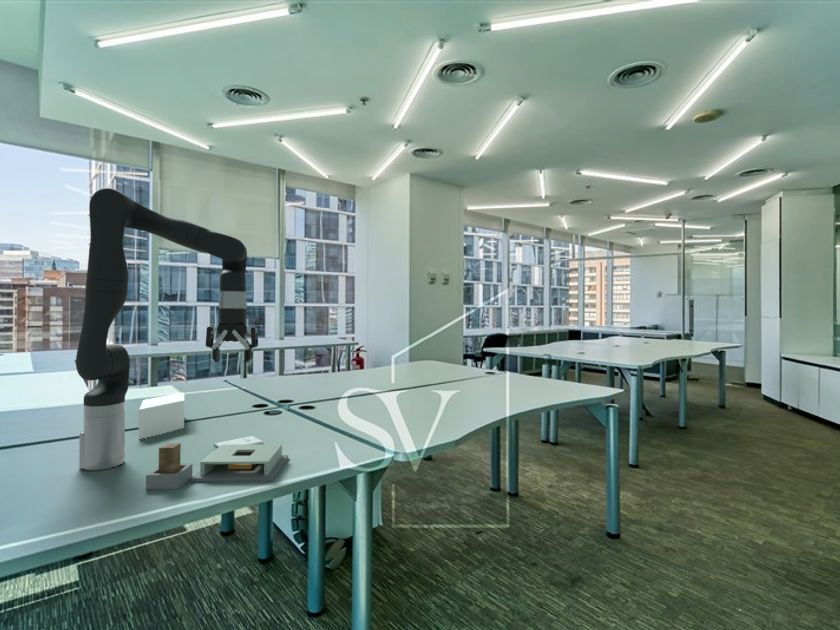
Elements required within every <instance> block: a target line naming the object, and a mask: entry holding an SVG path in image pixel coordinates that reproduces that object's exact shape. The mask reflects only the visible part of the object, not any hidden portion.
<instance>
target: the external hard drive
mask: <svg viewBox="0 0 840 630" xmlns="http://www.w3.org/2000/svg"><path fill="white" fill-rule="evenodd" d="M257 444H264V441H263V440H261V439H259V438H258V437H256V436H253V435H250V436H245V437H240V438H235V439H231V440H224V441H220V442H219V441H218V442H215V443H213V447H214V446H215V447H216V448H215V447H214V448H215V449H217V448H218V447H220V446H221V445H257Z"/></svg>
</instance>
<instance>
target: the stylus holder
mask: <svg viewBox="0 0 840 630" xmlns="http://www.w3.org/2000/svg"><path fill="white" fill-rule="evenodd" d="M192 477H193V463H180V471H178V472H177V473H159V466H157V467H156V468H155V469H153V470H151V471H150V472H149V473H147V474H146V475H145V490H146V489H149V490H150V489H152V490H179V489H180V488H182V487H183V486H184V485H185V484H186V483H188V482H189V481H190V479H191V480H192Z"/></svg>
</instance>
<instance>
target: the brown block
mask: <svg viewBox="0 0 840 630" xmlns="http://www.w3.org/2000/svg"><path fill="white" fill-rule="evenodd" d="M181 444H182V443H179V442H178V443H171V442H169V443H165V444H163V445H161V446H160V447H158V467H159V473H177V472H178V471H180V464H181V451H182V450H181Z"/></svg>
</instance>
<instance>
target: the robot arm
mask: <svg viewBox="0 0 840 630" xmlns="http://www.w3.org/2000/svg"><path fill="white" fill-rule="evenodd" d="M88 206H89V228H90V229H89V230H90V231H89V233H90V241H89V242H90V243H89V250H88V258H87V259H88V261H87V262H88V263H87V270H86V271H87V272H86V278H85V279H86V282H85V293H84V294H85V297H84V298H85V299H84V300H85V301H84V309H83V317H82V318H83V319H82V325H81V331H80V336H79V340H78V344H77V345H78V346H77V351H76V356H75V367H76V371H77V374H78V376H79V377H80V378H82V379H83V380H84V381H89V382H90V381H97V384H96V385H95V386H94V387H93V388H92V389H90V390H89V391H88V392H86V393H85V394H84V395H83V431H82V432H80V433H79V436H78V437H79V444H78V445H79V450H78V452H79V453H78V454H79V455H78V457H79V459H78V462H79V463H78V464H79V465H78V467H79V469H83V470H86V471H103V470H107V469H112V467H113V468H116V467H118V465H119V466H121V465H122V464H124V463H125V455H126V454H125V446H126V445H125V442H126V441H125V440H126V439H125V437H126V436H125V435H126V434H125V433H126V431H125V430H126V428H125V427H126V426H125V425H126V424H125V423H126V394H127V393H128V390H129V382H130V368H131V361H130V360H131V359H130V355H129V352H128V350H127V349H126V348H125V347H124V346H123V345H121V344H117V343H116V344H115V343H111V344H110V343H109V344H107V343H108V341H107V340H108V336H109V335H108V334H109V330H110V327H111V326H112V323H113V321H114V320H115V319H116V317H118V314H119V313H120V312H121V310H122V308H123V307H124V305H125V303H126V301H127V296H128V288H129V269H128V264H127V259H126V256H125V251H124V234H125V228H126V229H132V230H138V231H142V232H145V233H147V234H152V235H154V236H157V237H160V238H162V239H165V240H166V241H167V240H168V241H170V242H172V243H175V244H177V245H179V246H182V247H185V248H188V249H191V250H193V251H197V252H199V253H202V254H203V253H204V254H209V255H211V256H213V257H216V258H219V259H221V261H222V262H221V263H222V264H221V268H222V269H221V273H220V276H219V295H218V325H217V327H215V326H213V325H212V326H207V327H206V335H205V347H207V348H209V349H210V348H211V350H212V360H213V362H214V363H219V362H220V361H221V354H220V353H221V349H220V347H221V346H222V345H223V343H225V342H228V343H229V342H235V343H236V342H239V344H240V345H242V346H243V347H244V348H245V349H244V355H243V357H244V360H243V361H244V363H250V361H251V360H252V349H255V348H258V346H259V335H258V334H259V333H258V327H257V326H253V327H248V326H247V306H248V303H247V294H246V293H247V291H246V289H247V288H246V287H247V285H246V283H247V280H246V271H247V262H248V261H247V260H248V252H247V251H248V250H247V247H246V246H245V244H244V243H243V242H242V241H241V240H240V239H237V238H236V237H233V236H231V235H227V234H223V233H220V232H216V231H212V230H210V229H208V228H206V227H205V226H201V225H199V224H196V223H192V222H190V221H187V220H183V219H180V218H176V217H173V216H169V215H166V214H162V213H159V212H156V211H155V210H152V209H150V208H147V207H146V206H144V205H142V204H140V203H138V202H136V201H135V200H133V199H132V198H131V197H129V196H128V195H126V194H124V193H122V192H121V191H119V190H117V189H114V188H111V187H104V188H100V189H98V190H97V191H95V192H94V193H93V194H92V196H91V197H90V200H89V205H88ZM216 333H217V334H218V335H219V336H218V337H217V339H216V340H215V342H214V339H215V334H216ZM247 333H248V335H250V341H251V343H250V342H249V339H248V338H247V337H246V335H247ZM123 462H124V463H123ZM120 464H121V465H120Z"/></svg>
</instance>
